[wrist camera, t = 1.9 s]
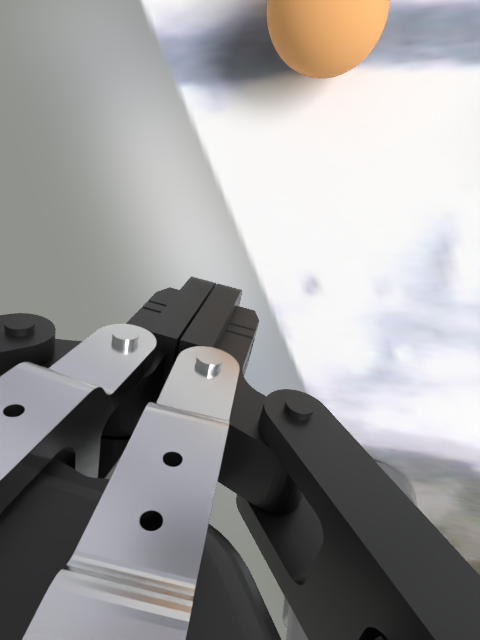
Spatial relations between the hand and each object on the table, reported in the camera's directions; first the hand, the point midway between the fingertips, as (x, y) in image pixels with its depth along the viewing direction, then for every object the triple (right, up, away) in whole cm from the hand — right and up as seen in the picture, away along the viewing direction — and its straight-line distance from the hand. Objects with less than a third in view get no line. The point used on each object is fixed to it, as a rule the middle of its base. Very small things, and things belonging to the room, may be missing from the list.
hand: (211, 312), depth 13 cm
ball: (+5, +14, +7) cm, 17 cm away
